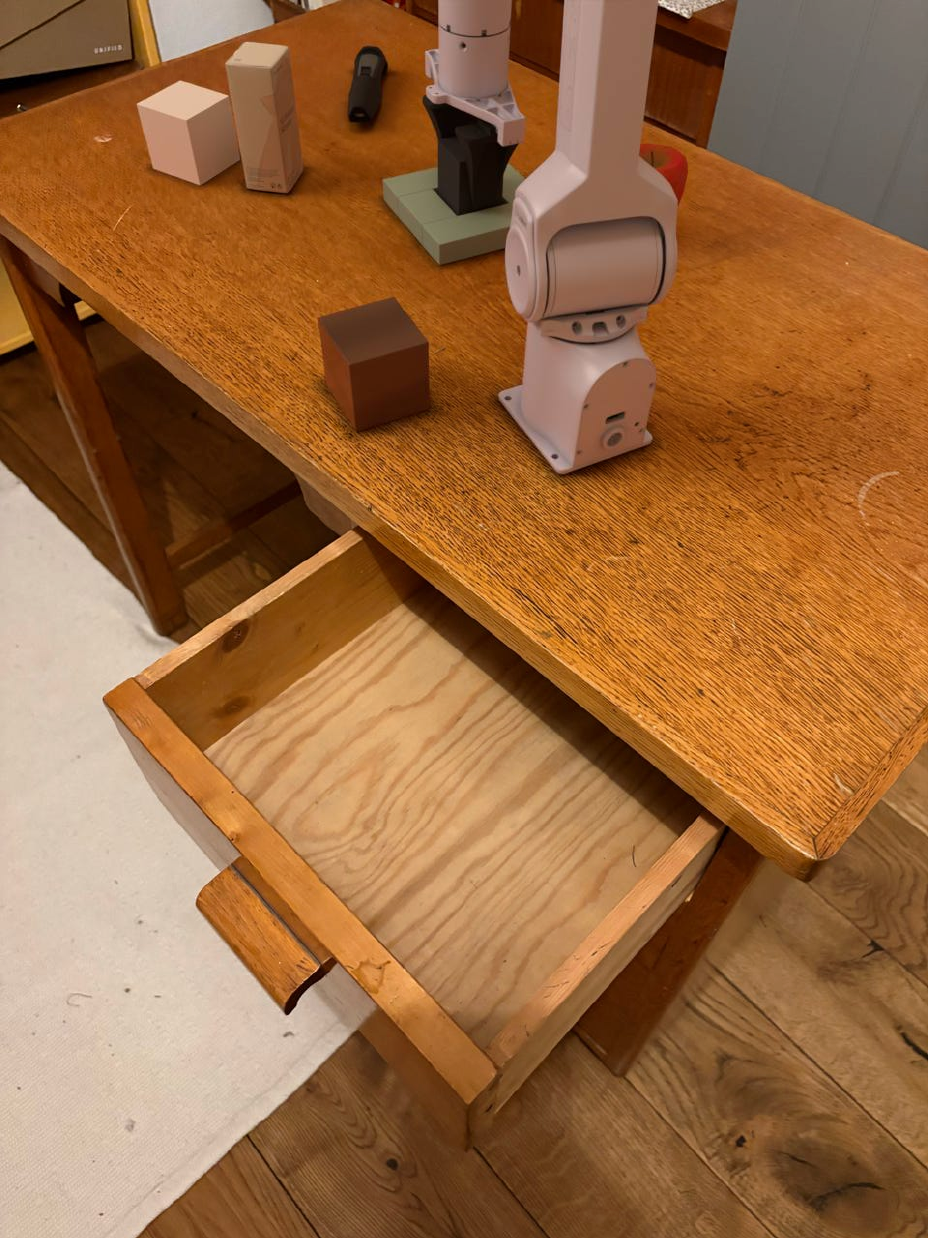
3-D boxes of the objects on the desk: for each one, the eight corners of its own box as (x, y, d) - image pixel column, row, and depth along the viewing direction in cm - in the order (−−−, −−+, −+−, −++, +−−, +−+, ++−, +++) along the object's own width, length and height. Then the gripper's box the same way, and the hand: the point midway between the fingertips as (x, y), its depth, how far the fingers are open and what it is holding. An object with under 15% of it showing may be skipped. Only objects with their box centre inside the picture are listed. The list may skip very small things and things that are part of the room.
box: (288, 195, 86) (270, 68, 77) (245, 189, 86) (222, 63, 78) (305, 168, 89) (289, 43, 80) (263, 163, 90) (243, 38, 81)
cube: (430, 409, 68) (429, 341, 63) (355, 432, 66) (349, 364, 61) (397, 363, 71) (394, 295, 66) (325, 384, 69) (317, 316, 64)
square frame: (559, 233, 83) (561, 212, 81) (439, 265, 79) (439, 244, 78) (496, 172, 89) (498, 152, 88) (383, 199, 86) (382, 178, 84)
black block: (501, 207, 82) (505, 151, 78) (458, 217, 81) (459, 161, 77) (479, 184, 85) (481, 129, 81) (437, 194, 84) (437, 139, 80)
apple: (655, 210, 85) (671, 128, 79) (686, 245, 82) (705, 161, 76) (594, 222, 84) (605, 139, 78) (623, 257, 80) (638, 173, 74)
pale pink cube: (240, 159, 90) (229, 95, 85) (200, 185, 87) (186, 120, 82) (193, 143, 92) (180, 79, 87) (152, 168, 89) (136, 103, 84)
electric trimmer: (340, 135, 94) (337, 103, 91) (356, 68, 103) (354, 37, 100) (377, 136, 94) (375, 104, 91) (389, 69, 103) (388, 38, 100)
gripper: (390, -3, 74) (397, 164, 85) (471, 67, 66) (467, 240, 77) (467, -16, 76) (464, 148, 87) (554, 51, 68) (539, 222, 79)
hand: (470, 191), depth 82 cm, fingers closed on black block, 4 cm apart
